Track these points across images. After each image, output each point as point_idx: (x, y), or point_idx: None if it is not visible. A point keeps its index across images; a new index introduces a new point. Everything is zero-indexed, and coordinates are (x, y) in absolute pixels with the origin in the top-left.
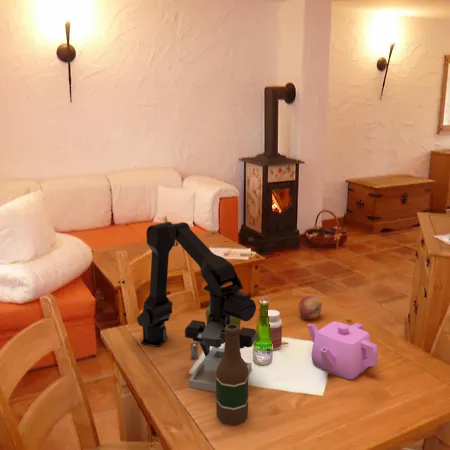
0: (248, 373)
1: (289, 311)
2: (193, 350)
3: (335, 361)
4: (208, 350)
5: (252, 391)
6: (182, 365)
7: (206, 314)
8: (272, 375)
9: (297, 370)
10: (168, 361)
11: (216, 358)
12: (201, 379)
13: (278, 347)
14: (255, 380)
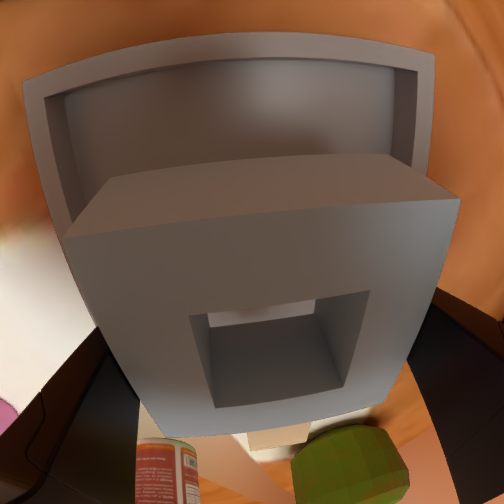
0: None
1: (208, 498)
2: None
3: None
4: (429, 353)
5: (9, 176)
6: (462, 245)
7: (406, 470)
8: (32, 334)
9: (6, 375)
10: (501, 248)
11: (311, 281)
12: (361, 138)
13: None
14: (54, 276)
